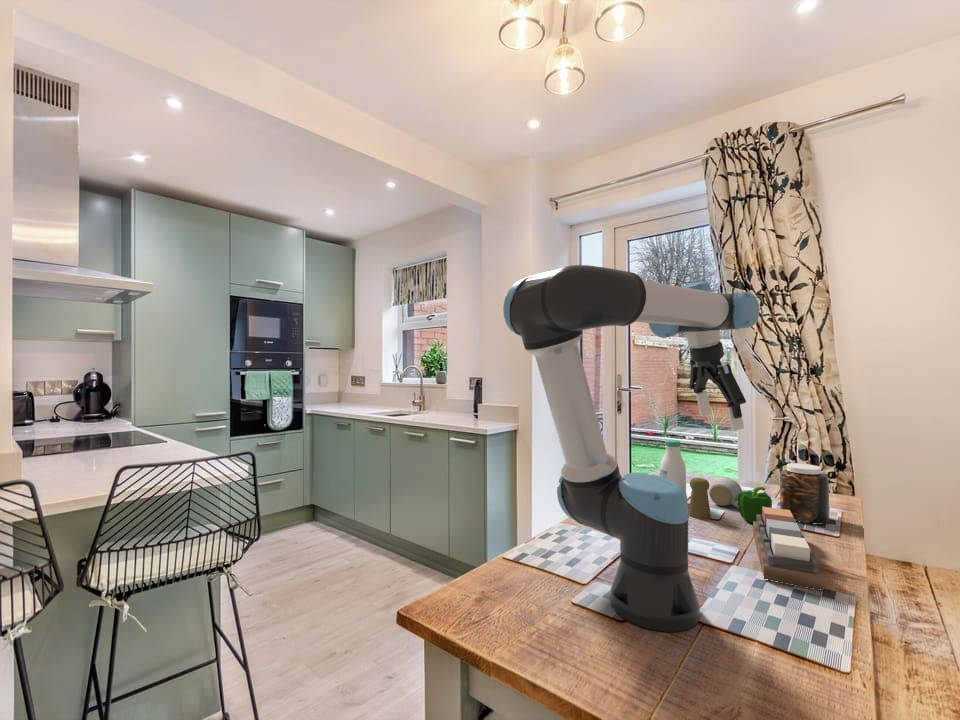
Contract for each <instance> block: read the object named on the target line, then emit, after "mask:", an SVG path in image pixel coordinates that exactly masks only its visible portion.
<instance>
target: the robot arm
mask: <svg viewBox="0 0 960 720" xmlns="http://www.w3.org/2000/svg"><path fill="white" fill-rule="evenodd" d="M759 303H760V302H759V300H758V299H757V297H756V296H755V294H753V293H752V292H749V291H743V292H738V291H736V292H734V293H733V292H732V293H722V292H715V291H712V288H711V285H710V283H709V282H707V281H698V282H693V283H688V284H686V285H682V286H679V285H673V284H666V283H663V282H662V283H660V282H655V281H650V280H644V279H643V278H642V276H640V275H639V274H637V273H635V272H632V271H625V270H621V269H616V268H610V267H603V266H596V265H588V264H574V265H570V264H569V265H566V266H563V267H560V268H556V269H553V270H549V271H545V272H541V273H537V274H531V275H528V276H527V277H524V278H522V279H519V280H518V281H516V282H514V284H513V285H512V286H510V288H509V289H508V291H507V294H506V296H505V298H504V301H503V307H502V308H503V311H502V312H503V319H504V321H505V324H506V325H507V327H508V329H509V330H510V331H512V332H513V333H514V334H515V335H518V336H519V337H521V340H522V343H523V344H522V345H523V346H524V351H526V352H528V353H530V354H531V355H534V357H535V361H536V364H537V367H538V371H539V375H540V378H541V381H542V385H543V389H544V393H545V396H546V399H547V402H548V405H549V409H550V413H551V416H552V419H553V423H554V427H555V430H556V434H557V437H558V439H559V444H560V448H561V452H562V455H563V458H564V461H565V463H564V464H563V466H562V467H561V470H560V473H561V475H560V477H559V480H558V483H559V484H558V485H559V486H557V488H556V494H557V501H558V504H559V506H560V508H561V510H562V512H563V513H564V514H565V515H566V516H567V517H568V518H570V519H572V520H573V521H574V522H577V524H580V525H583V526H585V527H588V528H590V529H592V530H595V531H598V532H601V533H603V534H606V535H607V536H610V537H612V538H614V539H618V540H619V542H620V543H619V547H620V548H619V550H620V551H619V552H620V559H619V560H620V561H619V564H618V566H617V567H618V568H617V569H616V573H615V575H614V579H613V581H612V585H611V587H610V605H611V604H612V605H611V607H612V606H613V607H612V609H613V608H614V609H615V610H616V611H617V612H618V613H619V614H620V615H621V616H623V617H624V618H625V619H624V618H623V619H624V620H626V621H627V622H629V623H631V624H633V625H636V626H638V627H641V628H645V629H647V630H653V631H658V632H668V633H670V632H671V633H673V632H675V633H676V632H682V631H687V630H689V629H693V628H694V627H695V626H696V625H698V623H699V622H700V602H699V599H698V596H697V594H696V590H695V587H694V585H693V582H692V579H691V578H692V577H691V575H690V573H689V572H690V571H689V519H690V516H689V507H688V505H689V503H688V496H687V492H686V493H685V491H684V489H683V488H682V487H681V486H680V485H678V484H677V483H675V482H674V481H671V480H669V479H667V478H664V477H661V476H660V475H656V474H649V473H647V472H646V473H645V472H629V473H625V474H623V475H621V472H620V468H619V465H618V461H617V459H616V457H614V456H613V455H612V454H609V453H607V448H606V445H605V442H604V441H605V440H604V439H603V438H604V437H603V435H602V430H601V427H600V423H599V418H598V415H597V412H596V408H595V404H594V401H593V397H592V394H591V390H590V386H589V381H588V379H587V375H586V372H585V367H584V365H583V360H582V356H581V353H580V349H579V345H578V344H579V342H580V340H581V339H582V336H583V335H584V333H583V331H585V330H589V329H590V330H591V329H596V328H597V329H598V328H602V327H603V328H604V327H612V326H618V327H626V326H627V327H628V326H630V325H633V324H634V323H648V325H649V326H648V327H649V329H650V331H651V332H652V334H654V335H655V336H657V337H658V338H662V339H666V338H670V337H674V336H676V335H678V334H680V333H681V334H682V333H685V335H686V336H685V337H686V341H687V344H688V346H689V348H688V350H689V353H690V357H691V359H690V360H689V363H690V364H689V365H690V375H689V389H690V390H693V392H694V394H695V396H696V401H697V406H698V409H699V415H700V417H705V416H709V415H712V410H711V405H710V399H709V396H708V391H707V387H706V386H707V384H708V381H709V380H710V381H711V382H712V383H713V384H715V385H716V386H717V388H718V389H719V392H721V394H722V396H723V398H724V399H725V401H726V402H727V405H726V407H727V413H728V417H729V422H730V427H731V431H733V432H735V431H739V430H742V429H745V425H744V420H743V414H742V408H741V405H743V404H745V403H746V402H747V401H746V398H745V395H744V394H743V392H742V390H741V388H740V386H739V384H738V382H737V379H736V378H735V375H734V373H733V370H732V367H731V365H730V364H729V363H727V364H722V361H721V360H722V358H723V357H724V356H725V351H724V346H723V343H722V341H721V340H722V338H721V333H720V331H725V330H727V331H729V330H730V331H731V330H740V329H748V328H751V327H753V326H755V325H756V324H757V322H758V320H759V317H760V304H759ZM614 609H613V610H614ZM615 610H614V611H615ZM620 615H619V616H620ZM621 616H620V617H621Z"/></svg>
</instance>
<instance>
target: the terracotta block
mask: <svg viewBox="0 0 960 720" xmlns="http://www.w3.org/2000/svg"><path fill="white" fill-rule="evenodd" d="M762 519H763V522H764V524H766V519H771V520H778V521H786V522H794V517H793V515H792V513H791V511H790V510H785V509H780V508H777V507H776V508H775V507H772V508H769V507H762Z"/></svg>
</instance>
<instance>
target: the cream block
mask: <svg viewBox="0 0 960 720" xmlns="http://www.w3.org/2000/svg"><path fill="white" fill-rule="evenodd" d="M805 539H806V537H804V538H799V537H792V536H786V535H779V534H772V533H771V548H772V551H773V554H774V556H779V557H785V558H791V559H797V560H803V561H810V549H811V548H810V546H808V545H809V543H808V541H807V540H805ZM806 541H807V542H806ZM807 543H808V544H807Z"/></svg>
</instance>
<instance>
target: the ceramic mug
mask: <svg viewBox="0 0 960 720" xmlns="http://www.w3.org/2000/svg"><path fill="white" fill-rule="evenodd" d="M740 491H743V489H742V487H741V485H740V484H739V483H738V482H737V481H736V480H734V479H733V478H728V477H724V478H721V479H720V480H718V481H717V482H715V483H714V484H712V485H711V487H709V492H708V493H709V494H708V496H709V498H710V499H711V501H712V503H714V504H715V505H718V506H720V507H729V506H730V505H732V506H734V507H736V508H738V509H739V506H738V494H739V492H740Z"/></svg>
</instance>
